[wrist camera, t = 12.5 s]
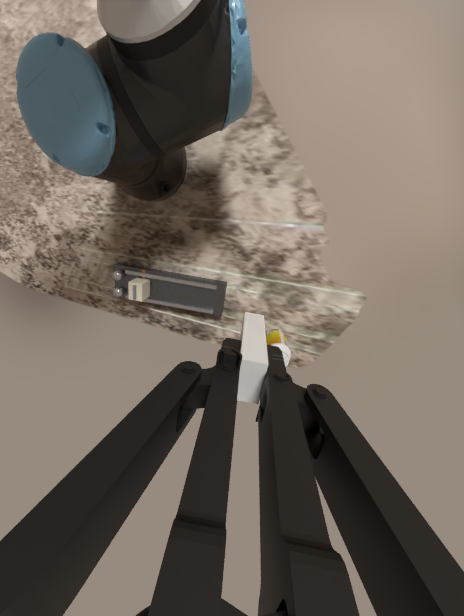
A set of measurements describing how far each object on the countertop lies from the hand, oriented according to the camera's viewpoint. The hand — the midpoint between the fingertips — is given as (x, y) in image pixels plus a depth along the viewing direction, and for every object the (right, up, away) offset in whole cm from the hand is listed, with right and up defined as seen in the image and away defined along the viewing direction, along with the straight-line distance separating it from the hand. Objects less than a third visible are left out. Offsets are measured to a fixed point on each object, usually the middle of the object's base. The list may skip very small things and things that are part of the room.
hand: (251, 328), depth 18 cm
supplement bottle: (+9, -6, +39) cm, 40 cm away
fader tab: (-22, +7, +34) cm, 41 cm away
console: (-16, +6, +36) cm, 40 cm away
